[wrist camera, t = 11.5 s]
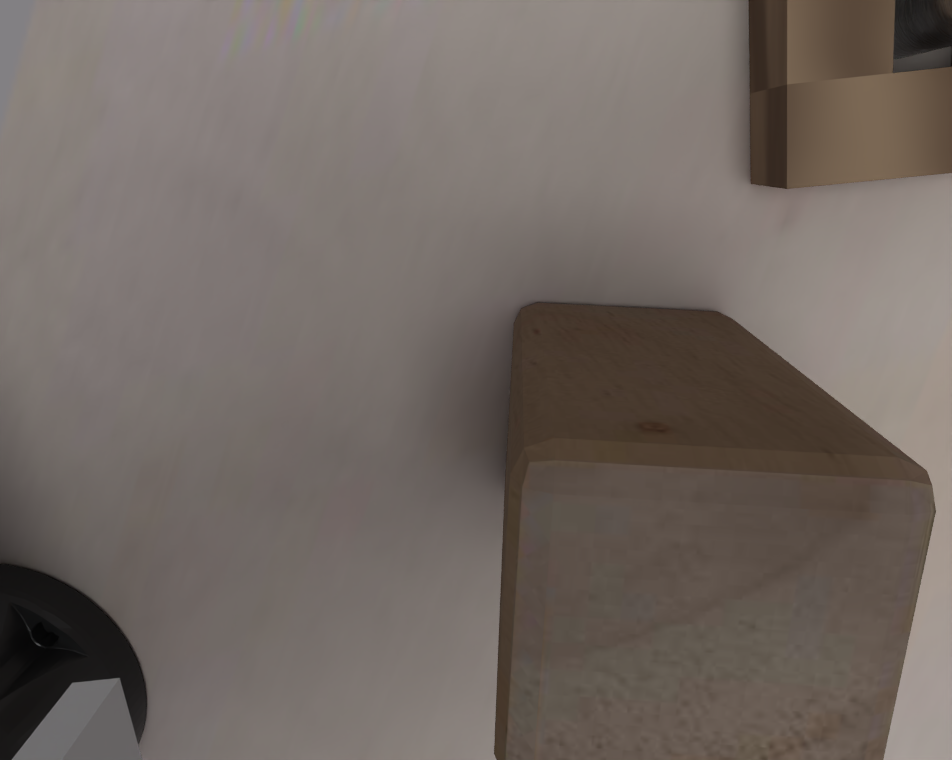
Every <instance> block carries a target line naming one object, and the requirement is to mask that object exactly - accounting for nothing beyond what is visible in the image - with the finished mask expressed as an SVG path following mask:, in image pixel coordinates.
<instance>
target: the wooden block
mask: <svg viewBox="0 0 952 760" xmlns="http://www.w3.org/2000/svg"><path fill="white" fill-rule="evenodd" d="M935 513H936V510H935V502H934V495H933V488H932V484H931V481H930V478H929V476H928V473H927V471H926V470H925V469H924V468H923V467H921V466H920V465H919V464H917V463H916V462H915V461H914V460H912V459H911V458H910V457H909V456H907V455H906V454H905V453H903V452H902V451H901V450H900V449H898V448H897V447H896V446H894V445H893V444H892V443H891V442H889V441H888V440H887V439H885V438H884V437H883V436H882V435H880V434H879V433H878V432H877V431H875V430H874V429H873V428H871V427H870V426H869V425H868V424H866V423H865V422H864V421H862V420H861V419H860V418H859V417H857V416H856V415H855V414H853V413H852V412H851V411H850V410H848V409H847V408H846V407H845V406H843V405H842V404H841V403H839V402H838V401H837V400H836V399H834V398H833V397H832V396H830V395H829V394H828V393H827V392H825V391H824V390H823V389H821V388H820V387H819V386H818V385H816V384H815V383H814V382H813V381H811V380H810V379H809V378H807V377H806V376H805V375H804V374H802V373H801V372H800V371H798V370H797V369H796V368H795V367H793V366H792V365H791V364H789V363H788V362H787V361H786V360H784V359H783V358H782V357H781V356H779V355H778V354H777V353H775V352H774V351H773V350H772V349H770V348H769V347H768V346H766V345H765V344H764V343H763V342H761V341H760V340H759V339H757V338H756V337H755V336H754V335H752V334H751V333H750V332H748V331H747V330H746V329H745V328H743V327H742V326H741V325H740V324H738V323H737V322H736V321H734V320H733V319H732V318H729V317H727V316H725V315H723V314H721V313H719V312H714V311H694V310H674V309H654V308H634V307H614V306H594V305H574V304H554V303H535V304H532V305H529V306H526V307H524V308H521V310H520V312H519V314H518V316H517V318H516V320H515V322H514V331H513V349H512V367H511V385H510V403H509V421H508V439H507V457H506V475H505V496H504V521H503V546H502V571H501V596H500V621H499V646H498V671H497V696H496V721H495V746H494V754H495V757H496V759H497V760H883V758H884V753H885V749H886V744H887V739H888V734H889V730H890V725H891V720H892V716H893V711H894V706H895V701H896V697H897V692H898V687H899V683H900V678H901V673H902V668H903V664H904V659H905V654H906V649H907V645H908V640H909V635H910V631H911V626H912V621H913V616H914V612H915V607H916V602H917V598H918V593H919V588H920V583H921V579H922V574H923V569H924V564H925V560H926V555H927V550H928V546H929V541H930V536H931V531H932V527H933V522H934V517H935Z"/></svg>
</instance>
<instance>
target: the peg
mask: <svg viewBox="0 0 952 760" xmlns="http://www.w3.org/2000/svg"><path fill="white" fill-rule="evenodd" d="M949 46H952V0H895V21H894V50H893V59H899V58H904V57H908V56H912V55H916V54H920V53H924V52H928V51H932V50H936V49H941V48H945V47H949Z"/></svg>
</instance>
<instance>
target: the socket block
mask: <svg viewBox="0 0 952 760" xmlns="http://www.w3.org/2000/svg"><path fill="white" fill-rule="evenodd" d="M894 21H895V0H749V50H750V149H751V184H756V185H763V186H770V187H777V188H785V189H791V188H801V187H811V186H821V185H832V184H842V183H852V182H862V181H873V180H883V179H893V178H903V177H914V176H924V175H934V174H944V173H952V63H951V67H945V68H936V69H926V70H917V71H908V72H898V73H893V50H894Z"/></svg>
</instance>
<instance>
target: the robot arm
mask: <svg viewBox="0 0 952 760" xmlns="http://www.w3.org/2000/svg"><path fill="white" fill-rule="evenodd" d="M145 717H146V694H145V687H144V682H143V678H142V674H141V671H140V668H139V666H138V663H137V661H136V658H135V656H134V654H133V652H132V650H131V648H130V647H129V645H128V643H127V642H126V640H125V639H124V637H123V636H122V634H121V633H120V631H119V630H118V629H117V628H116V626H115V625H114V624H113V623H112V622H111V620H110V619H109V618H108V617H107V616H106V615H105V614H104V613H103V612H102V611H101V610H100V609H98V608H97V607H96V606H95V605H94V604H93V603H91V602H90V601H89V600H88V599H86V598H85V597H84V596H82V595H81V594H79V593H78V592H76V591H75V590H73V589H71V588H70V587H68V586H66V585H64V584H63V583H61V582H59V581H57V580H55V579H52V578H50V577H48V576H45V575H43V574H40V573H37V572H34V571H31V570H28V569H24V568H20V567H15V566H10V565H3V564H0V760H142V757H141V753H140V750H139V746H138V743H139V741H140V738H141V735H142V732H143V728H144V724H145Z"/></svg>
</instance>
